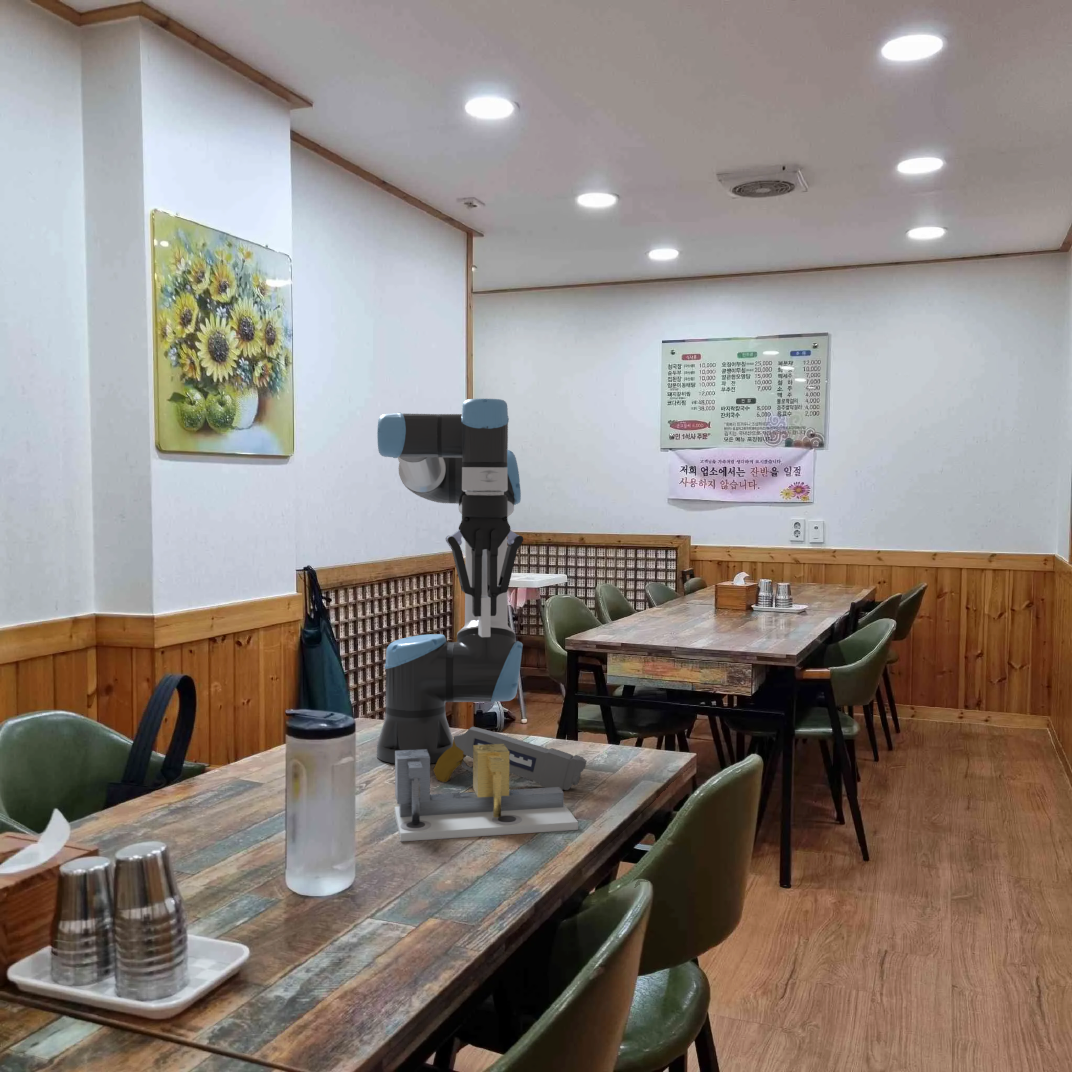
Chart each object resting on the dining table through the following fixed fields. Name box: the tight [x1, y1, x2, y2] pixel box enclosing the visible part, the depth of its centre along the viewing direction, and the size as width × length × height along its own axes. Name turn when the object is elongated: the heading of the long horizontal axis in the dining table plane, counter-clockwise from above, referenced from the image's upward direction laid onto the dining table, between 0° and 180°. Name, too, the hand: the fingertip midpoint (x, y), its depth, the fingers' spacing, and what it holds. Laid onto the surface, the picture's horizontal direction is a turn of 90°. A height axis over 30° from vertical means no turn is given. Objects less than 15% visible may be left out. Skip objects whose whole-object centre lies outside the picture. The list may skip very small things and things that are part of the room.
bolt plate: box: [394, 803, 579, 842], centre depth 157 cm, size 13×27×1 cm, turn 102°
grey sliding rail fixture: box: [394, 749, 565, 824], centre depth 158 cm, size 9×26×9 cm, turn 102°
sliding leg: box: [472, 744, 510, 817], centre depth 158 cm, size 9×5×9 cm, turn 12°
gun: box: [433, 726, 588, 791], centre depth 177 cm, size 3×25×15 cm, turn 76°
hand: (484, 635), depth 167 cm, fingers closed
